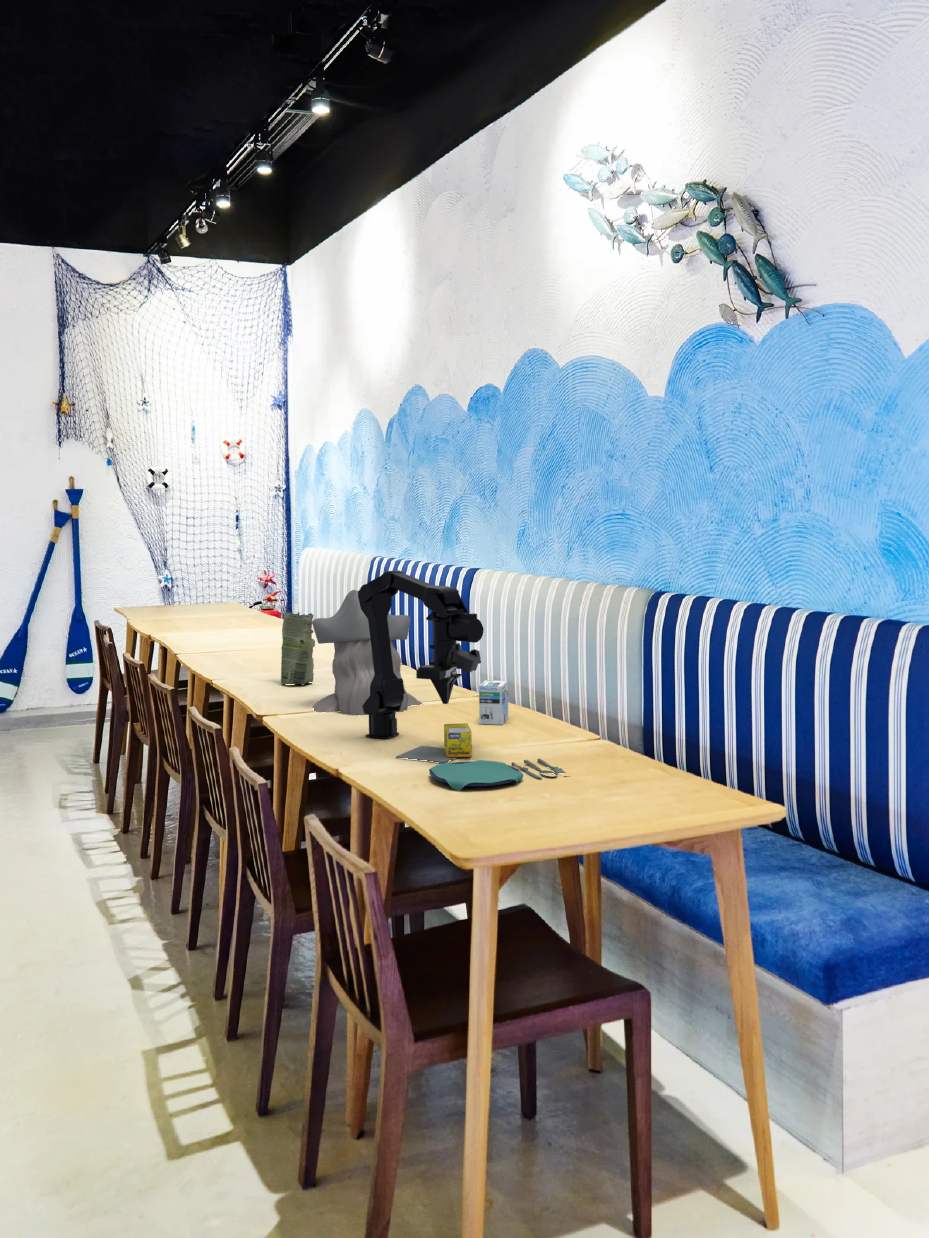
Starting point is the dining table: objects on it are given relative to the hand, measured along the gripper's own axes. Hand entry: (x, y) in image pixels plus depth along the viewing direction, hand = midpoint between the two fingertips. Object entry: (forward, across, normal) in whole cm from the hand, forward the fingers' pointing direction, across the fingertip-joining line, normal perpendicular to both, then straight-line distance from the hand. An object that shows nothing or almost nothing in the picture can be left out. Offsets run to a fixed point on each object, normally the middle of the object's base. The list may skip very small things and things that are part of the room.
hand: (445, 703), depth 249 cm
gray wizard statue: (+11, +42, +49) cm, 66 cm away
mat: (+11, -6, 0) cm, 13 cm away
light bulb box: (+12, +37, +4) cm, 39 cm away
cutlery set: (+12, -18, -22) cm, 31 cm away
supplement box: (+8, +2, -2) cm, 8 cm away
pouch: (+11, +67, +91) cm, 114 cm away
